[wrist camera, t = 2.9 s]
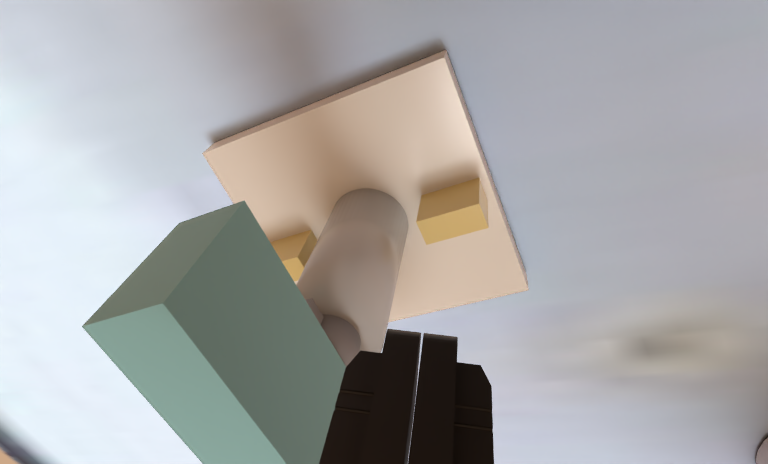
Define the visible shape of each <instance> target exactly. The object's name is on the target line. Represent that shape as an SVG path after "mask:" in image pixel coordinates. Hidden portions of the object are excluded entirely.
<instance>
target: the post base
mask: <svg viewBox="0 0 768 464" xmlns="http://www.w3.org/2000/svg"><path fill="white" fill-rule="evenodd" d="M202 154H203V155H204V157H205V158H206V160H207V162H208V163H209V165H210V166H211V168H212V170H213V171H214V173H215V174H216V176H217V178H218V179H219V181H220V182H221V184H222V186H223V187H224V189H225V191H226V192H227V194H228V195H229V197H230V199H231V200H232V202H233V203H234V204H236V203H238V202H241V201H244V200H245V202H246V204H247V205H248V207H249V209H250V210H251V212H252V213H253V215H254V217H255V218H256V220H257V222H258V223H259V225H260V227H261V228H262V230H263V231H264V233H265V235H266V236H267V238H268V240H269V241H270V243H271V245H272V246H273V248H274V250H275V251H276V253H277V254H278V256H279V258H280V259H281V261H282V263H283V264H284V266H285V268H286V269H287V271H288V272H289V274H290V276H291V277H292V279H293V281H294V282H295V284H296V286H297V287H298V289H299V290H300V292H301V294H302V295H303V297H304V299H305V300H306V299H310V298H313V300H314V302H315V303H316V305H317V307H318V308H319V310H320V312H321V313H322V314H328V315H334V316H337V317H340V318H342V319H344V320H346V321H348V322H349V323H350V324H351V325H353V326H354V328H355V329H356V330H357V332H358V333H359V335H360V339H361V346H360V350H361V351H369V352H377V353H380V352H381V350H382V348H383V343H384V339H385V334H386V330H387V325H388V322H392V321H396V320H400V319H405V318H409V317H413V316H418V315H422V314H427V313H431V312H435V311H440V310H444V309H448V308H453V307H457V306H461V305H466V304H470V303H474V302H479V301H483V300H487V299H492V298H496V297H501V296H505V295H509V294H514V293H518V292H522V291H527V290H529V289H528V281H527V274H526V271H525V269H524V266H523V263H522V260H521V257H520V255H519V252H518V249H517V246H516V243H515V241H514V238H513V235H512V232H511V229H510V227H509V224H508V221H507V218H506V216H505V213H504V210H503V207H502V204H501V202H500V199H499V196H498V193H497V190H496V188H495V185H494V182H493V179H492V176H491V174H490V171H489V168H488V165H487V163H486V160H485V157H484V154H483V151H482V149H481V146H480V143H479V140H478V137H477V135H476V132H475V129H474V126H473V123H472V121H471V118H470V115H469V112H468V110H467V107H466V104H465V101H464V98H463V96H462V93H461V90H460V87H459V84H458V82H457V79H456V76H455V73H454V71H453V68H452V65H451V62H450V59H449V57H448V54H447V51H446V50H444V51H442V52H439V53H437V54H434V55H432V56H429V57H427V58H424V59H422V60H419V61H417V62H414V63H412V64H409V65H407V66H404V67H402V68H399V69H397V70H394V71H392V72H389V73H387V74H384V75H382V76H379V77H377V78H374V79H372V80H369V81H367V82H364V83H362V84H359V85H357V86H354V87H352V88H349V89H347V90H345V91H342V92H340V93H337V94H335V95H332V96H330V97H327V98H325V99H322V100H320V101H317V102H315V103H312V104H310V105H307V106H305V107H302V108H300V109H297V110H295V111H292V112H290V113H287V114H285V115H282V116H280V117H277V118H275V119H272V120H270V121H267V122H265V123H262V124H260V125H257V126H255V127H252V128H250V129H248V130H245V131H243V132H240V133H238V134H235V135H233V136H230V137H228V138H225V139H223V140H220V141H218V142H215V143H213V144H212V145H211V146H210V147H209V148H208V149H207V150H206V151H205V152H203V153H202ZM360 350H359V352H360Z"/></svg>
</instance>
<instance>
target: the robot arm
mask: <svg viewBox="0 0 768 464" xmlns="http://www.w3.org/2000/svg"><path fill="white" fill-rule="evenodd" d="M420 340H421V333H418V332H410V331H401V330H393V329H388V330H387V333H386V338H385V343H384V347H383V352H382V353H377V352H369V351H361V350H360V352H359V353H358V354H357V355H356V356H355V357H354V358H353V360H352V361H351V362H350V363H349V364H348V365H347V367H346V368H345V372H344V375H343V379H342V383H341V386H340V392H339V393H338V397H337V401H336V404H335V410H334V411H333V415H332V419H331V422H330V426H329V429H328V433H327V437H326V440H325V444H324V447H323V451H322V455H321V458H320V462H319V464H494V454H493V432H492V429H493V423H492V391H491V385H490V383H489V381H488V379H487V377H486V375H485V373H484V371H483V369H482V367H481V365H474V364H466V363H458V362H457V337H453V336H444V335H436V334H428V333H424V336H423V344H422V352H421V361H420V369H419V377H418V386H417V376H418V364H419V352H420ZM416 387H417V394H416ZM415 397H416V402H415ZM414 407H415V411H414ZM413 415H414V419H413ZM412 423H413V427H412ZM411 432H412V436H411ZM410 440H411V444H410ZM409 448H410V452H409ZM408 456H409V461H408ZM756 464H768V438H767V439H766V440H765V441H763V443H762V445H761V446H760V448H759V450H758V452H757V457H756Z"/></svg>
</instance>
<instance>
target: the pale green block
mask: <svg viewBox="0 0 768 464" xmlns="http://www.w3.org/2000/svg"><path fill="white" fill-rule="evenodd" d="M82 327H83V328H84V329H85V330H86V332H87V333H88V334H89V335H90V336H91V337H92V338H93V339H94V341H95V342H96V343H97V344H98V345H99V346H100V347H101V349H102V350H103V351H104V352H105V353H106V354H107V355H108V356H109V358H110V359H111V360H112V361H113V362H114V363H115V364H116V366H117V367H118V368H119V369H120V370H121V371H122V372H123V374H124V375H125V376H126V377H127V378H128V379H129V380H130V381H131V383H132V384H133V385H134V386H135V387H136V388H137V389H138V391H139V392H140V393H141V394H142V395H143V396H144V397H145V398H146V400H147V401H148V402H149V403H150V404H151V405H152V406H153V408H154V409H155V410H156V411H157V412H158V413H159V414H160V416H161V417H162V418H163V419H164V420H165V421H166V422H167V423H168V425H169V426H170V427H171V428H172V429H173V430H174V431H175V433H176V434H177V435H178V436H179V437H180V438H181V439H182V440H183V442H184V443H185V444H186V445H187V446H188V447H189V448H190V450H191V451H192V452H193V453H194V454H195V455H196V456H197V458H198V459H199V460H200V461H201V462H202V463H203V464H319V462H320V458H321V455H322V451H323V447H324V444H325V440H326V437H327V433H328V429H329V426H330V422H331V419H332V415H333V411H334V410H335V404H336V401H337V397H338V393H339V392H340V386H341V383H342V379H343V375H344V372H345V368H346V367H347V365H348V364H349V363H350V362H351V361H352V360H353V358H354V357H355V356H356V355H357V354H358V353H359V350H360V346H361V339H360V335H359V333H358V332H357V330H356V329H355V328H354V326H353V325H351V324H350V323H349V322H348V321H346V320H344V319H342V318H340V317H337V316H334V315H328V314H322V313H321V312H320V310H319V308H318V307H317V305H316V303H315V302H314V300H313V298H310V299H306V300H305V299H304V297H303V295H302V294H301V292H300V290H299V289H298V287H297V286H296V284H295V282H294V281H293V279H292V277H291V276H290V274H289V272H288V271H287V269H286V268H285V266H284V264H283V263H282V261H281V259H280V258H279V256H278V254H277V253H276V251H275V250H274V248H273V246H272V245H271V243H270V241H269V240H268V238H267V236H266V235H265V233H264V231H263V230H262V228H261V227H260V225H259V223H258V222H257V220H256V218H255V217H254V215H253V213H252V212H251V210H250V209H249V207H248V205H247V204H246V202H245V200H244V201H241V202H238V203H236V204H233V205H230V206H227V207H224V208H221V209H218V210H215V211H213V212H210V213H207V214H204V215H201V216H198V217H195V218H192V219H190V220H187V221H184V222H181V223H179V224H178V225H177V226H176V227H175V228H174V229H173V230H172V231H171V232H170V233H169V235H168V236H167V237H166V238H165V239H164V240H163V241H162V242H161V243H160V244H159V245H158V246H157V247H156V248H155V249H154V251H153V252H152V253H151V254H150V255H149V256H148V257H147V258H146V259H145V260H144V261H143V262H142V263H141V264H140V265H139V266H138V268H137V269H136V270H135V271H134V272H133V273H132V274H131V275H130V276H129V277H128V278H127V279H126V280H125V281H124V282H123V283H122V285H121V286H120V287H119V288H118V289H117V290H116V291H115V292H114V293H113V294H112V295H111V296H110V297H109V298H108V299H107V301H106V302H105V303H104V304H103V305H102V306H101V307H100V308H99V309H98V310H97V311H96V312H95V313H94V314H93V315H92V316H91V318H90V319H89V320H88V321H87V322H86V323H85V324H84V325H83V326H82Z"/></svg>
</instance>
